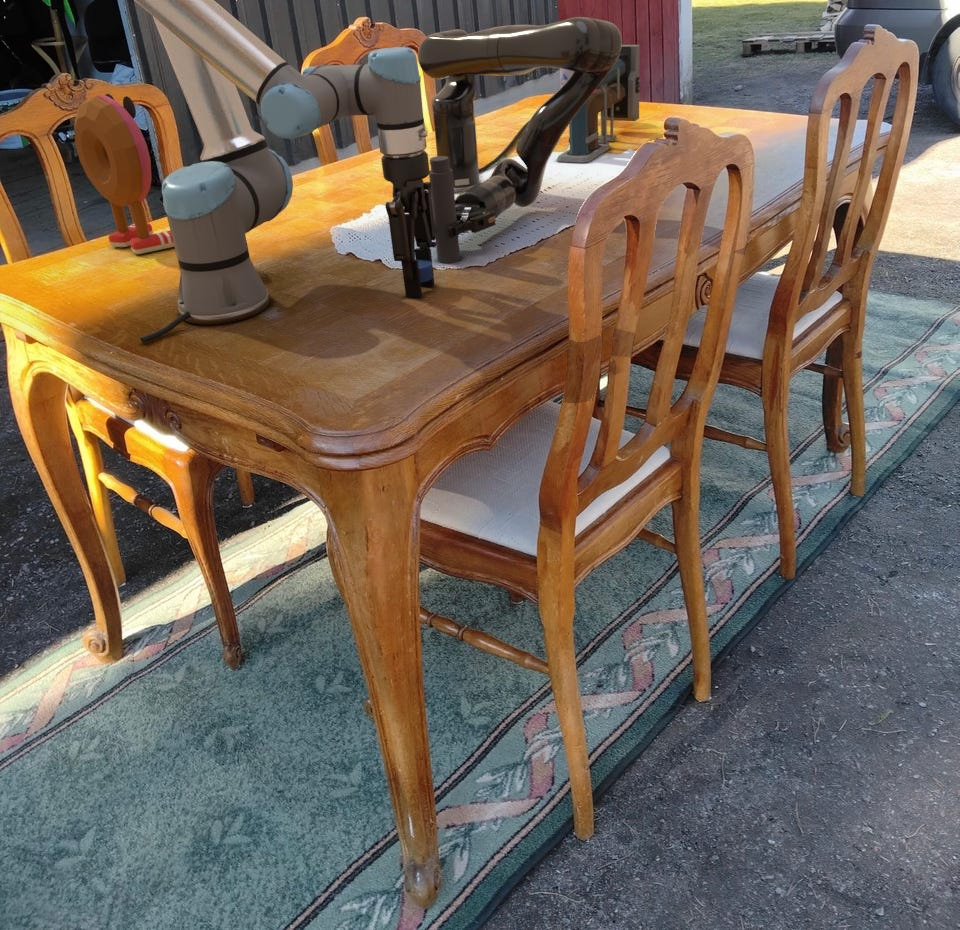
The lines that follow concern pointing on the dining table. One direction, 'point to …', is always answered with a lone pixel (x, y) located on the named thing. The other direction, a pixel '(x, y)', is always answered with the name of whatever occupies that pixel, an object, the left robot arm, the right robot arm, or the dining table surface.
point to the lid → (425, 270)
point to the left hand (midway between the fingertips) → (420, 290)
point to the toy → (118, 168)
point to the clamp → (606, 108)
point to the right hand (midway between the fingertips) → (438, 231)
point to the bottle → (443, 208)
